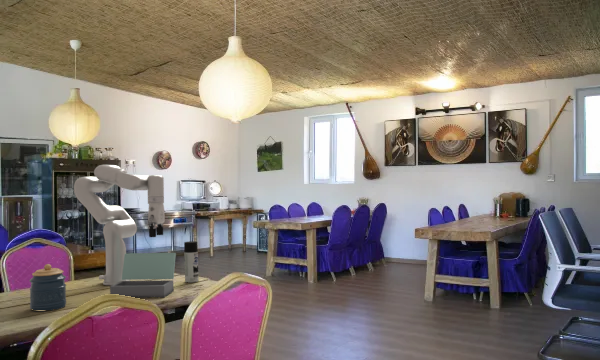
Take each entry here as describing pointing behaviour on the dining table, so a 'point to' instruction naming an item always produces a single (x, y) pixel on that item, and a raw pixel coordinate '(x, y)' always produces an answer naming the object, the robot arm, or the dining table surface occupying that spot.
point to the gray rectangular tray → (143, 288)
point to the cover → (148, 266)
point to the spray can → (191, 261)
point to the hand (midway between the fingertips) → (156, 235)
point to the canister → (48, 289)
